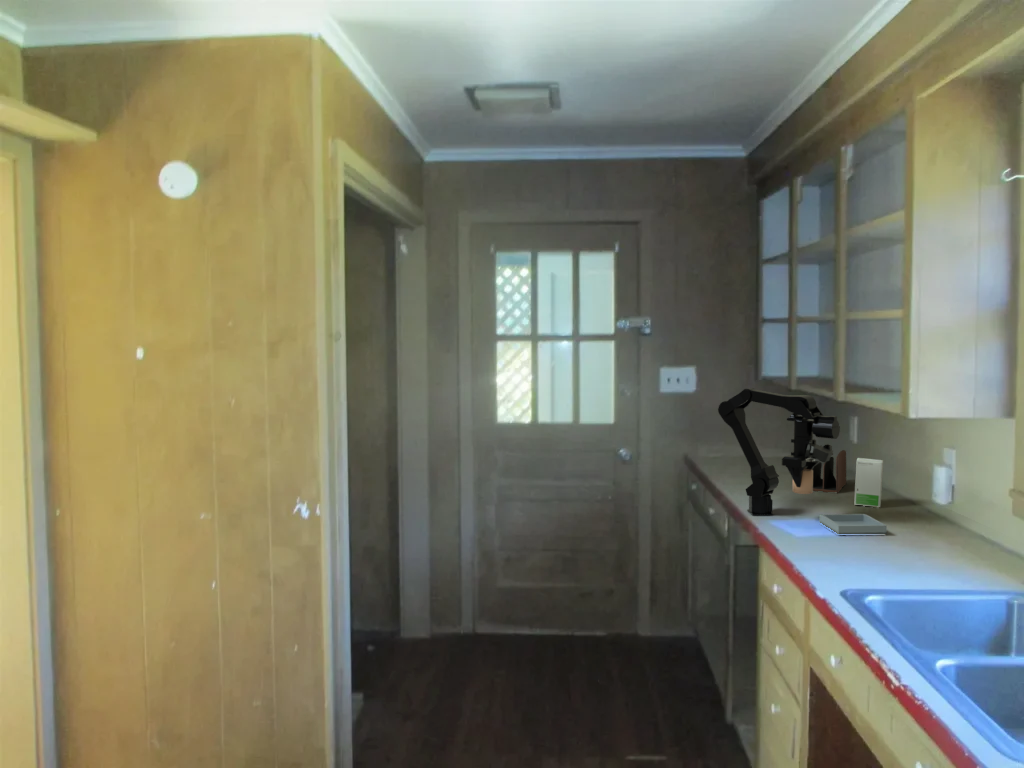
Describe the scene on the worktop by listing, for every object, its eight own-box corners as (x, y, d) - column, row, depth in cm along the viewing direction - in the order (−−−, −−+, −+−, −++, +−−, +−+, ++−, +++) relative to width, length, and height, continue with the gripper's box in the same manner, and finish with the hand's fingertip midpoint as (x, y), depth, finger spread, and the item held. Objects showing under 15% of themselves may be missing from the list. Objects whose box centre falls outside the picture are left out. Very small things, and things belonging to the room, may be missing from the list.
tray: (838, 536, 228) (838, 526, 228) (819, 523, 242) (819, 514, 242) (886, 535, 228) (886, 525, 228) (864, 523, 242) (864, 513, 242)
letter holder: (846, 484, 301) (847, 447, 300) (838, 494, 284) (838, 455, 283) (819, 481, 306) (819, 446, 305) (809, 491, 289) (809, 453, 288)
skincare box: (853, 506, 265) (854, 460, 264) (855, 501, 271) (856, 457, 270) (881, 508, 261) (882, 462, 260) (882, 504, 267) (883, 459, 266)
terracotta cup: (796, 494, 242) (796, 471, 242) (789, 490, 248) (789, 467, 248) (815, 493, 242) (816, 471, 242) (808, 489, 248) (808, 467, 248)
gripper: (817, 441, 232) (817, 493, 233) (840, 434, 245) (839, 483, 247) (781, 438, 239) (780, 489, 240) (805, 431, 253) (804, 479, 254)
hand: (802, 485), depth 245 cm, fingers closed on terracotta cup, 6 cm apart
